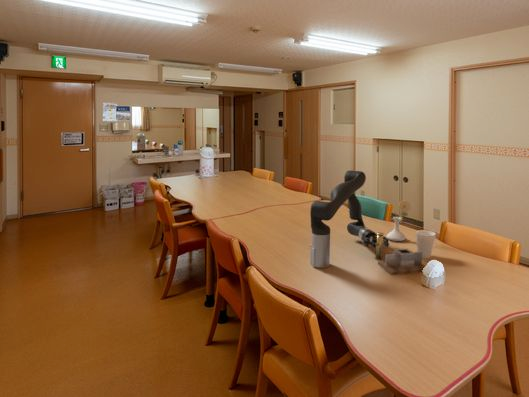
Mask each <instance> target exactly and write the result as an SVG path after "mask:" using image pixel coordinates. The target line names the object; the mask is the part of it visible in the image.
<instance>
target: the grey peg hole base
mask: <svg viewBox="0 0 529 397" xmlns="http://www.w3.org/2000/svg"><path fill="white" fill-rule="evenodd" d="M385 261H386V260H378V261H377V265H379V266H380V267H381V268H382V269H384V270H385V271H386V272H387V273H388V274H390V275H391V276H397V275H407V274H419V273H423V272H422V270H423V268H424V267H425V266H426V265H425V264H424V263H423V262H422V263H421V264H414V267H408V268H400V267H398V266H388V267H386V266H385Z"/></svg>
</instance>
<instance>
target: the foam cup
mask: <svg viewBox="0 0 529 397" xmlns="http://www.w3.org/2000/svg"><path fill="white" fill-rule="evenodd" d="M415 232H416V233H415V237H416V248H417V249H416V252H422V259H429V258H431V256H432V252H433V248H434V244H435V240H436V236H437V235H436V233H435V232H434V231H431V230H423V229H422V230H416V231H415Z"/></svg>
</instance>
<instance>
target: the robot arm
mask: <svg viewBox="0 0 529 397" xmlns="http://www.w3.org/2000/svg"><path fill="white" fill-rule="evenodd" d="M343 179H344V182H341V183H338V184H337V185H336V186H335V187H333V189H332V190H331V192H330V201H321V200H315V201H313V202H312V203H311V204H310V205H311V206H310V210H309V211H310V228H311V245H310V247H309V248H310V249H309V250H310V251H309V252H310V253H309V255H310V256H309V258H310V259H309V261H310V262H309V263H310V265H311V266H312V267H313V268H317V269H323V268H325V269H326V268H329V267H330V265H331V264H330V263H331V262H330V261H331V260H330V259H331V258H330V256H331V254H330V253H331V226H329V225H327V224H325V223H324V221H326V222H327V221H330V220H332V219H334V217H335V215H336V214H337V212H338V210H340V208H341V207H342V205H343V204H345V203H346V202H347V201H348V211H349V218H350V220H352V222H349V223H348V224H347V226H346V230H347V232H348V234H350V235H352V236H356V237H358V238H360V239H361V244H363V245H365V246H367V247H368V246H370V247H373V248H374V249H376V247H377V232H376V231H374V230H372V229H370V228H368V227H366V226H365V223H364V220H363V216H362V205H361V202H360V200H359V199H358V197H357V196H356V194H355V192H356V191H358V190H359V189H361V188H363V186H364V185H365V182H366V180H367V177H366V173H365V172H363V171H362V170H346V172H345V173H344V178H343ZM389 240H390V239H388V238H387V237H386V236H384V235H383V245H384V247H387V248H389V246H390V243H389Z"/></svg>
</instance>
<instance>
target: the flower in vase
mask: <svg viewBox="0 0 529 397" xmlns="http://www.w3.org/2000/svg"><path fill="white" fill-rule="evenodd" d="M398 209H399V210H400V214H397V213H395V212H393V213H394V215H395V216H393V217H392V219H393V222H394V229H393V230H391V231H390V232H388V233H387V234H386V236H385V237H386V238H387V239H388V240H390V241H394V242H402V241H405V240H406V239H407V236H406V235H405V234H404V233H403V232H402V231H400V229H399V226H400V222H401V220H402V217H400V216H401V215H402V216H403V217H407V216H408V215H409V213H408V212H410V211H411V209H412V206H411V203H410V202H409V201H408V200H404V199H402V200H401V201H399V203H398Z"/></svg>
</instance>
